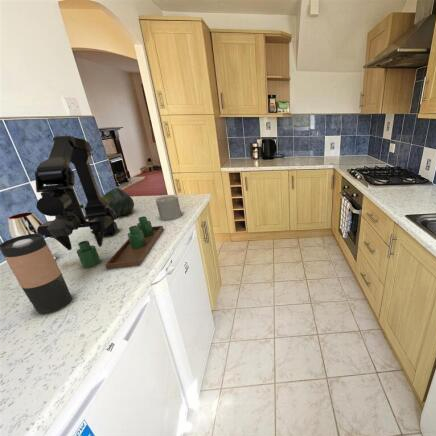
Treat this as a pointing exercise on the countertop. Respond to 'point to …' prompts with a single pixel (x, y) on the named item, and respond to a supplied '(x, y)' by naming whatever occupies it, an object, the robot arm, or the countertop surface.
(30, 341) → the countertop surface
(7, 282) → the countertop surface
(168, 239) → the countertop surface
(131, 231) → the bottle middle
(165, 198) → the coffee mug
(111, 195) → the squash
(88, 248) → the green bottle
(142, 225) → the bottle near
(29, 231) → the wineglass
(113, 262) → the tray
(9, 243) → the travel mug
